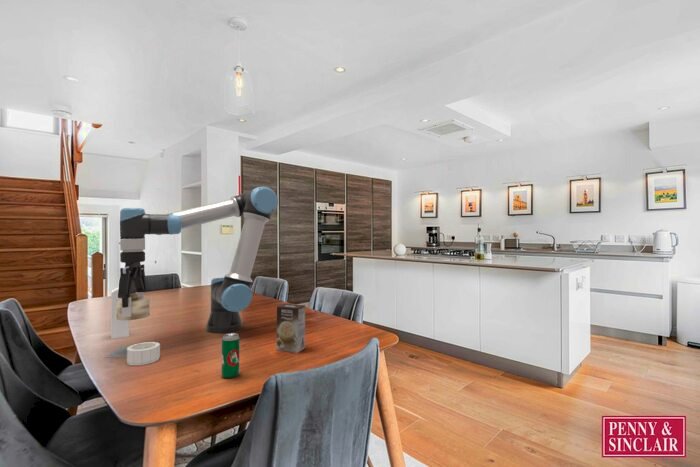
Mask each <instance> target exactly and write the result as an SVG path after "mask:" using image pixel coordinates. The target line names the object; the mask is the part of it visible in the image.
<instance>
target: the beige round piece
mask: <svg viewBox="0 0 700 467" xmlns="http://www.w3.org/2000/svg"><path fill="white" fill-rule="evenodd" d="M130 297H131V317H122V300H119V301H117V302H116V316H117V320H129V321H134V320H135V321H136V320H140V319H145V318H147V317H150V310H151V309H150V308H151V307H150V302H151V301H150V298H149V297H144V298H138V294H135V293H130Z"/></svg>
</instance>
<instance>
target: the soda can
mask: <svg viewBox="0 0 700 467" xmlns="http://www.w3.org/2000/svg"><path fill="white" fill-rule="evenodd" d="M240 340H241V338H240V336H239V333H236V332H231V333H229V332H227V333H224V334H223V335H222V338H221V371H220V372H221V374H220V376H222V378H224V379H232V378H235V377H236V378H237V376H239V374H240V360H241V359H240V355H241V354H240V353H241V351H240V350H241V348H240V347H241V346H240V342H241V341H240Z"/></svg>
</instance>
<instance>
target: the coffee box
mask: <svg viewBox="0 0 700 467" xmlns="http://www.w3.org/2000/svg"><path fill="white" fill-rule="evenodd" d="M275 340H276V347H275V350H276V351H281V352H289V353H296V354H297V353H299V352H301V351H303V350H304V349H305V348H306V305H305V304H304V305H303V304H296V303H295V304H294V303H283V304H280V305H278V306H276V339H275Z"/></svg>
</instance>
